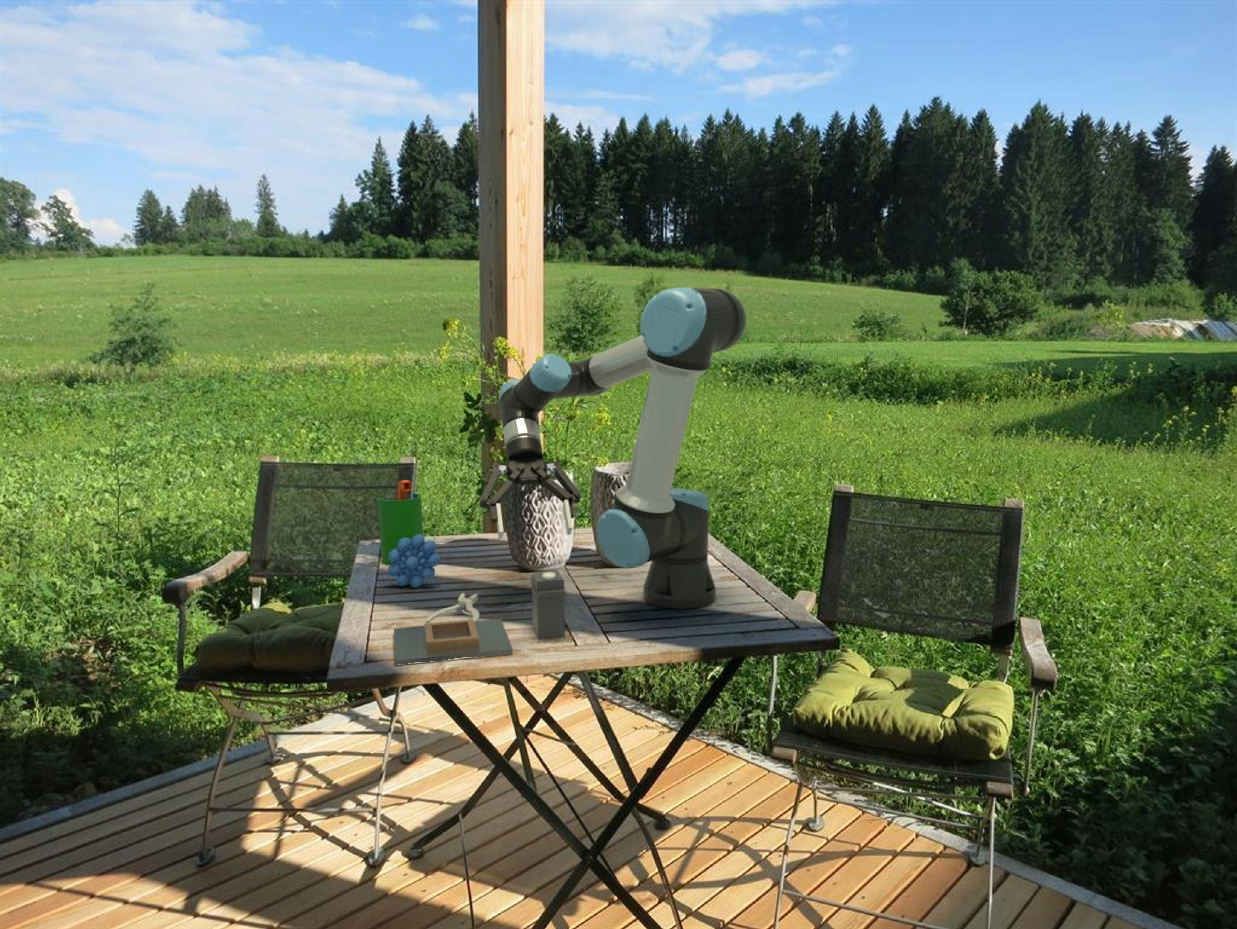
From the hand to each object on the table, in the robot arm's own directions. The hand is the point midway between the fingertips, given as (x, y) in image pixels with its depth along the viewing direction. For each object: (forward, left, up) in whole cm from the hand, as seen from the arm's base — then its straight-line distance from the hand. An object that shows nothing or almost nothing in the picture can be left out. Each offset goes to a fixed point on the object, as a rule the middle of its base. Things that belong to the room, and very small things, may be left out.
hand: (535, 533), depth 175 cm
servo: (0, +11, -16) cm, 20 cm away
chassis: (+18, +12, -16) cm, 27 cm away
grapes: (+23, -25, -17) cm, 38 cm away
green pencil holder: (+25, -47, -17) cm, 56 cm away
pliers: (+15, -6, -17) cm, 23 cm away
